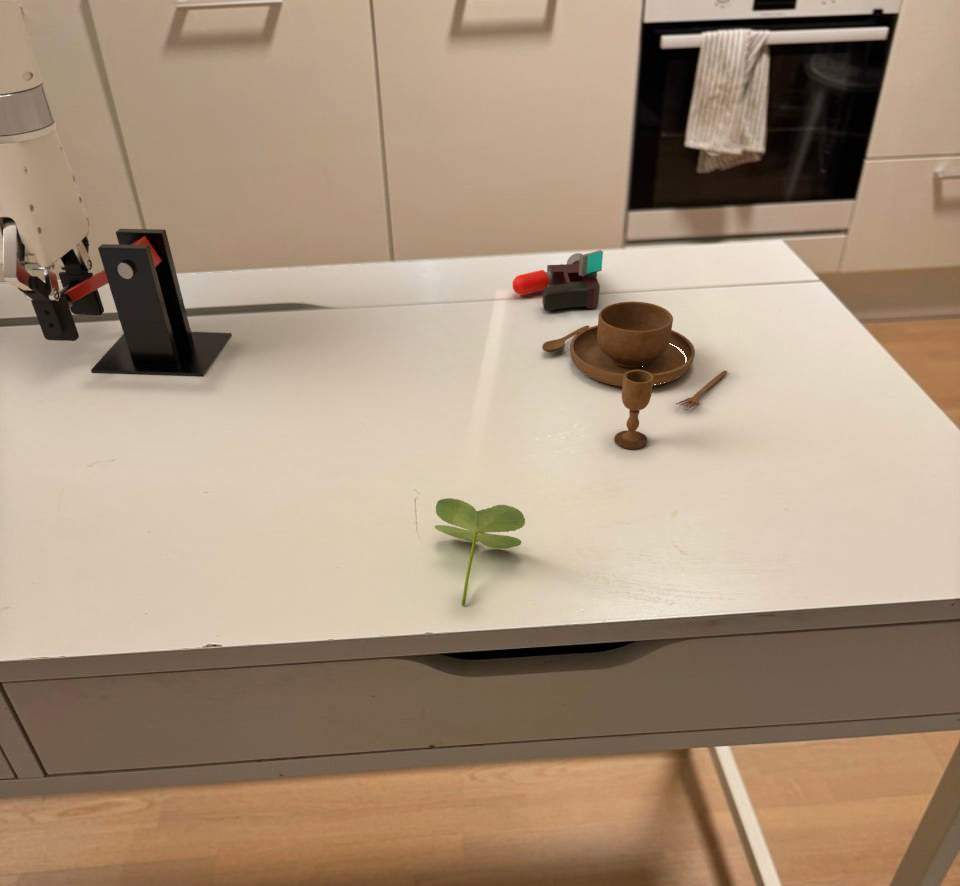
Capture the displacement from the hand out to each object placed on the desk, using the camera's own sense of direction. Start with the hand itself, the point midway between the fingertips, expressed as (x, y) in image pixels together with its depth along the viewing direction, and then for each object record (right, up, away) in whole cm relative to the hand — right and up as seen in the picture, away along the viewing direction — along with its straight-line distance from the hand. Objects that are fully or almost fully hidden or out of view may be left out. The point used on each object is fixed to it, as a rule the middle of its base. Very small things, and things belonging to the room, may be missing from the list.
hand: (75, 324), depth 84 cm
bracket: (+8, -3, +2) cm, 9 cm away
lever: (+5, +2, -3) cm, 6 cm away
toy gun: (+48, +8, +14) cm, 50 cm away
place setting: (+52, -6, -2) cm, 52 cm away
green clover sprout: (+38, -26, -22) cm, 51 cm away
